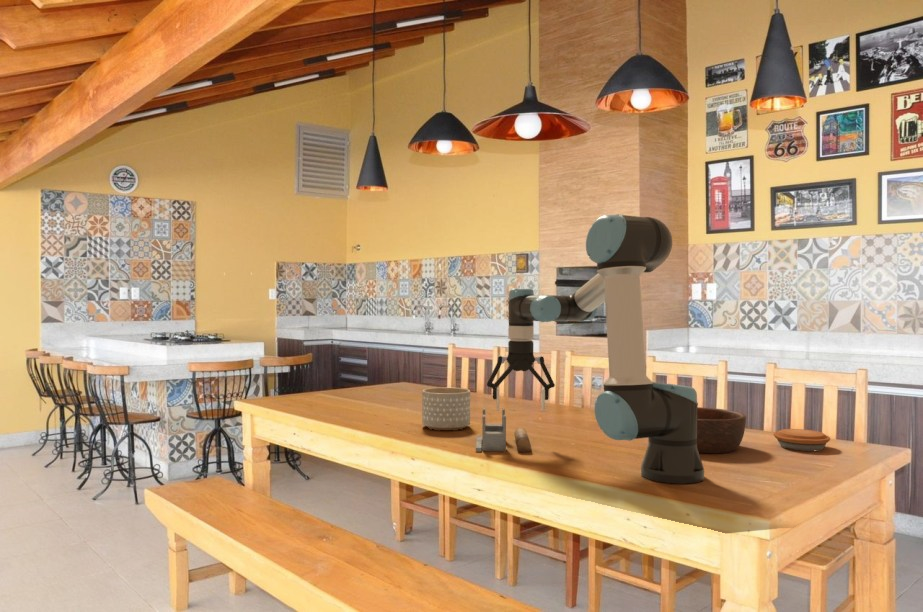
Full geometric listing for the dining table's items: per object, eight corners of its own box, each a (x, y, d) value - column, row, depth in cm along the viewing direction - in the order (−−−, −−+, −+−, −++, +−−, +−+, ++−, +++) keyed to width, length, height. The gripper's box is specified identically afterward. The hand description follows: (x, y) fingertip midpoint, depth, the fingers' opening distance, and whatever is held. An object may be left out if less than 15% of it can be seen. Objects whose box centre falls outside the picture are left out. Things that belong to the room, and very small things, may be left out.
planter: (416, 430, 242) (416, 392, 241) (429, 422, 257) (430, 386, 257) (463, 432, 238) (464, 394, 238) (474, 424, 254) (475, 388, 253)
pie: (800, 441, 226) (800, 425, 226) (842, 450, 211) (842, 433, 211) (761, 444, 220) (761, 428, 220) (802, 454, 206) (802, 437, 206)
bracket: (506, 452, 207) (506, 417, 207) (475, 451, 208) (475, 417, 208) (504, 439, 226) (504, 407, 226) (476, 439, 227) (476, 407, 227)
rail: (528, 455, 207) (532, 441, 207) (515, 451, 207) (519, 437, 207) (525, 441, 226) (528, 429, 226) (512, 438, 226) (516, 426, 226)
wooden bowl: (688, 458, 200) (688, 421, 200) (642, 441, 225) (642, 408, 224) (764, 453, 207) (764, 418, 207) (712, 437, 231) (712, 405, 231)
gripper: (561, 339, 220) (560, 409, 220) (479, 338, 221) (479, 408, 221) (564, 341, 212) (563, 413, 213) (479, 340, 213) (478, 412, 213)
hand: (520, 410), depth 217 cm, fingers open, 13 cm apart
